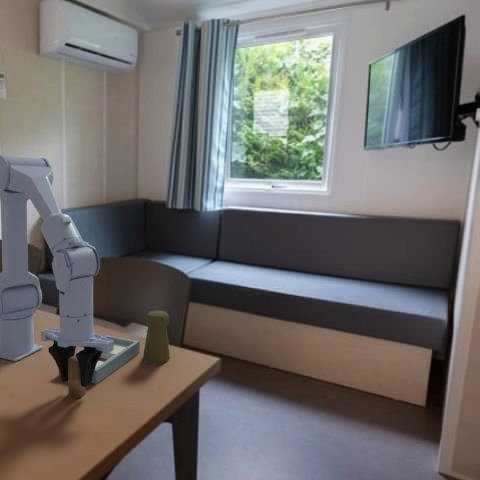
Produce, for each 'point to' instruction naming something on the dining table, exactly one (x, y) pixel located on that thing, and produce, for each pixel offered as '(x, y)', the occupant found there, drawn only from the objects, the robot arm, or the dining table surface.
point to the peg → (74, 379)
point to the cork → (156, 338)
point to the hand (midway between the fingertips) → (77, 382)
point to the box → (115, 357)
